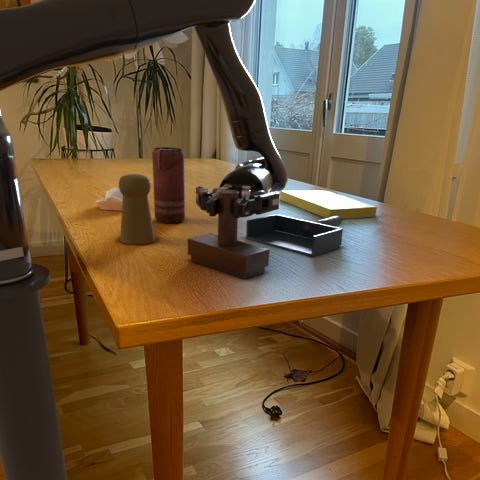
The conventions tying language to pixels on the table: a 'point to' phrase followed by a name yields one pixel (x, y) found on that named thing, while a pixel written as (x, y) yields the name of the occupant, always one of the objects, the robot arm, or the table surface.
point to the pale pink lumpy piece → (111, 200)
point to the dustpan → (296, 233)
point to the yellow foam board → (328, 204)
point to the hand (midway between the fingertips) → (224, 209)
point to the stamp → (228, 244)
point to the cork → (136, 210)
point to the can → (169, 184)
